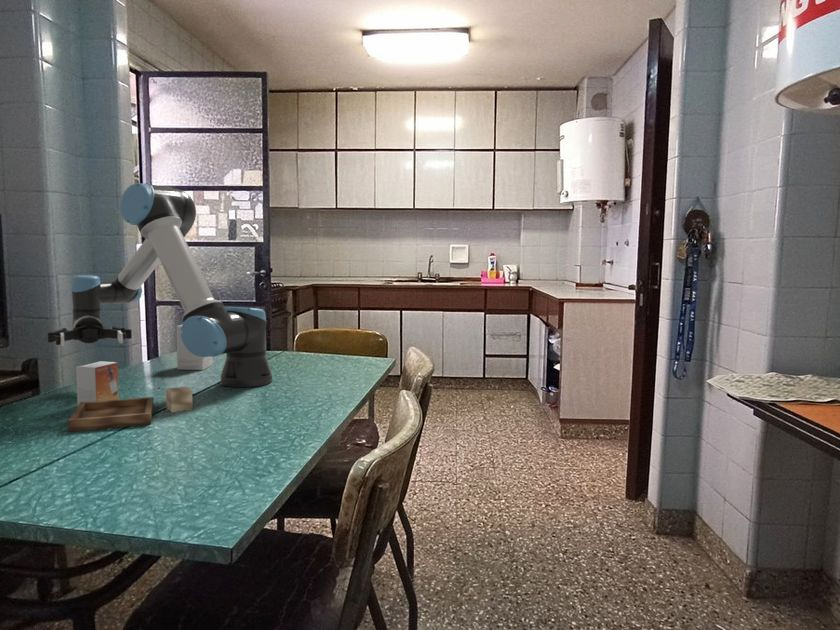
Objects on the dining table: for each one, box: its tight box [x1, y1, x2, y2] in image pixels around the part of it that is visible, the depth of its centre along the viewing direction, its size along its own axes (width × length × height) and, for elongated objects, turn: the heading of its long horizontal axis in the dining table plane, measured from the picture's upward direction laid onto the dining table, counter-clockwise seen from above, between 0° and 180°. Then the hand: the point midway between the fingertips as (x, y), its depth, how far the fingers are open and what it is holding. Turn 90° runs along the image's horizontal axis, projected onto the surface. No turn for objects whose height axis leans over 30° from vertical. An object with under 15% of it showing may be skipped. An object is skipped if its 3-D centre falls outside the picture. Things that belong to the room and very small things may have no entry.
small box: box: [75, 360, 120, 406], centre depth 141 cm, size 8×6×10 cm
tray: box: [67, 396, 155, 433], centre depth 130 cm, size 16×16×2 cm
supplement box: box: [176, 324, 213, 371], centre depth 189 cm, size 9×9×15 cm
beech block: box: [165, 386, 193, 413], centre depth 139 cm, size 5×5×5 cm
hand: (92, 339), depth 148 cm, fingers open, 13 cm apart
